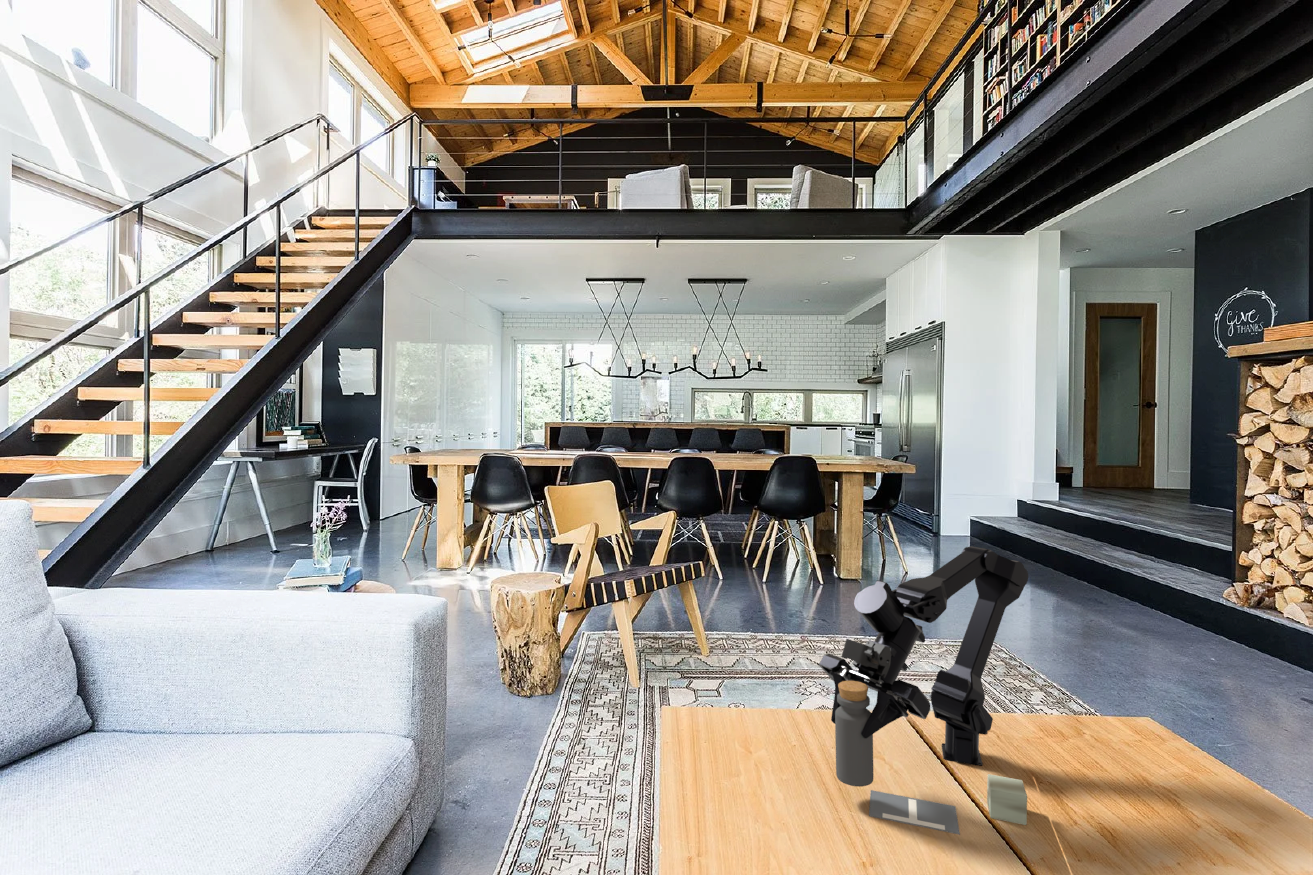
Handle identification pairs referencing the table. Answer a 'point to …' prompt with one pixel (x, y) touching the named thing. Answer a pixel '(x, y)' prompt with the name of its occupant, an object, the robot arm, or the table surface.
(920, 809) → the letter tile
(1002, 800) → the green block
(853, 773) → the bottle
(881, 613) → the robot arm
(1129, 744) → the table surface
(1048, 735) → the table surface
